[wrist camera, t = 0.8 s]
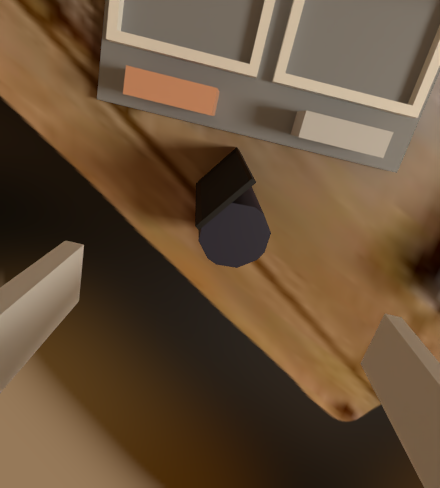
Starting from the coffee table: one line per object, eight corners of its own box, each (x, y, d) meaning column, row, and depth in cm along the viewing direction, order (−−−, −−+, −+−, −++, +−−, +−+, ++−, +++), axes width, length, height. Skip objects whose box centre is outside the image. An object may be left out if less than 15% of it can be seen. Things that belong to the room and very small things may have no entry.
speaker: (182, 168, 32) (173, 201, 23) (238, 146, 32) (252, 171, 22) (210, 234, 35) (213, 288, 26) (262, 216, 35) (283, 263, 25)
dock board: (125, -164, 24) (98, -235, 19) (487, -62, 25) (548, -105, 20) (101, 99, 31) (76, 96, 26) (391, 170, 32) (419, 180, 27)
